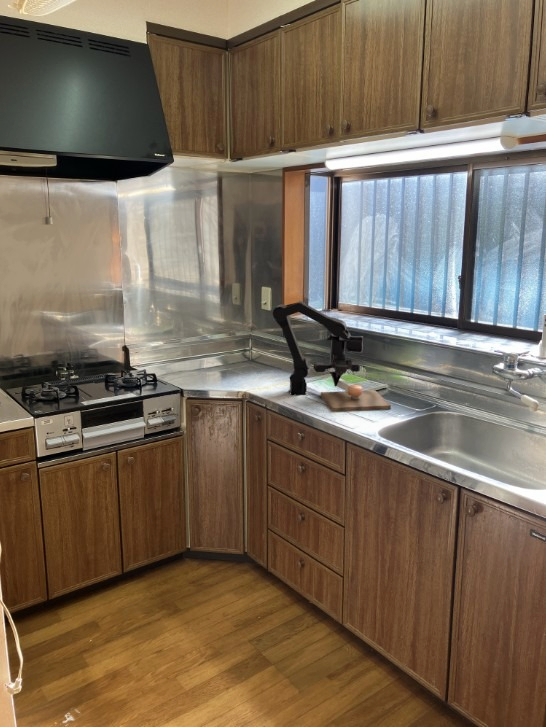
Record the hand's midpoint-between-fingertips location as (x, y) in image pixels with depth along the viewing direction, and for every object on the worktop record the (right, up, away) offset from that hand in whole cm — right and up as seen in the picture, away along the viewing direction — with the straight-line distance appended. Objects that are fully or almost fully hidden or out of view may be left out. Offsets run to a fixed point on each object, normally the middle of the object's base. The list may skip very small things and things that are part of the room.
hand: (335, 386), depth 254 cm
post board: (+7, -6, -7) cm, 12 cm away
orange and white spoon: (+5, -2, -3) cm, 6 cm away
